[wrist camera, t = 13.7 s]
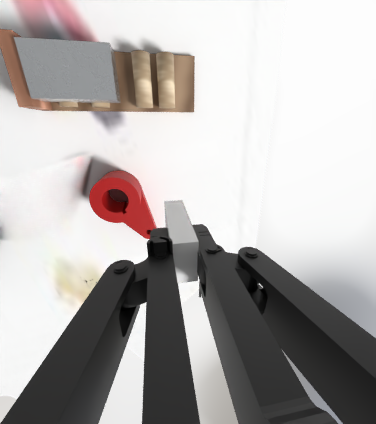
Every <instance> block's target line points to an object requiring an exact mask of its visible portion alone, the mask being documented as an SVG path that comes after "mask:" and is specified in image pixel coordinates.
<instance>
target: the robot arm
mask: <svg viewBox="0 0 376 424" xmlns="http://www.w3.org/2000/svg"><path fill="white" fill-rule="evenodd" d="M164 202H165V221H166V228H155V229H153V230H152V231H151V232H150V240H148V242H147V249H148V258H147V259H146V260H145V261H143V262H141V263H138V264H135V265H134V263H133V262H131V261H128V260H120V261H117V262H114V263H113V264H111V265H110V266H109V267H108V268H107V269H106V271H105V272H104V274H103V275H102V277H101V278H100V280H99V281H98V283H97V284H96V285H95V287H94V288H93V290H92V291H91V293H90V294H89V296H88V297H87V299H86V300H85V301H84V303H83V304H82V306H81V307H80V309H79V310H78V312H77V313H76V315H75V316H74V317H73V319H72V320H71V322H70V323H69V325H68V326H67V328H66V329H65V331H64V332H63V333H62V335H61V336H60V338H59V339H58V341H57V342H56V344H55V345H54V346H53V348H52V349H51V351H50V352H49V354H48V355H47V357H46V358H45V360H44V361H43V362H42V364H41V365H40V367H39V368H38V370H37V371H36V373H35V374H34V376H33V377H32V378H31V380H30V381H29V383H28V384H27V386H26V387H25V389H24V390H23V392H22V393H21V394H20V396H19V397H18V399H17V400H16V402H15V403H14V405H13V406H12V408H11V409H10V410H9V412H8V413H7V415H6V416H5V418H4V419H3V421H2V422H1V423H0V424H98V423H99V420H100V417H101V415H102V412H103V409H104V406H105V403H106V401H107V398H108V395H109V392H110V389H111V386H112V384H113V381H114V378H115V375H116V372H117V370H118V367H119V364H120V361H121V358H122V356H123V353H124V350H125V347H126V344H127V342H128V339H129V336H130V333H131V330H132V328H133V325H134V322H135V319H136V316H137V314H138V311H139V308H140V304H143V303H145V302H147V305H146V332H145V359H144V387H143V413H142V424H200V420H199V415H198V408H197V401H196V395H195V390H194V383H193V376H192V370H191V364H190V357H189V351H188V345H187V339H186V333H185V326H184V320H183V314H182V308H181V301H180V295H179V289H178V283H183V282H191V281H198V276H199V279H200V283H199V297H201V294H202V298H203V301H204V305H205V308H206V311H207V315H208V318H209V322H210V326H211V328H212V333H213V336H214V339H215V343H216V347H217V350H218V354H219V357H220V360H221V364H222V367H223V371H224V374H225V378H226V381H227V385H228V388H229V392H230V395H231V399H232V402H233V406H234V409H235V412H236V416H237V420H238V423H239V424H338V423H337V422H336V420H335V419H334V418H332V416H331V415H330V414H329V413H328V412H326V411H324V410H322V409H320V408H318V407H316V406H315V405H314V403H313V402H312V401H311V400H310V398H309V397H308V395H307V393H306V392H305V390H304V388H303V386H302V384H301V383H300V381H299V379H298V377H297V376H296V374H295V372H294V370H293V369H292V367H291V366H290V364H289V362H288V360H287V358H286V357H285V355H284V353H283V352H282V350H283V351H284V352H285V354H286V355H287V356H288V357H289V359H290V360H291V361H292V362H293V363H294V365H295V366H296V367H297V368H298V370H299V371H300V372H301V373H302V374H303V376H304V377H305V378H306V379H307V380H308V382H309V383H310V384H311V385H312V386H313V388H314V389H315V390H316V391H317V393H318V394H319V395H320V396H321V397H322V399H323V400H324V401H325V402H326V403H327V405H328V406H329V407H330V408H331V409H332V411H333V412H334V413H335V414H336V415H337V417H338V418H339V419H340V420H341V422H343V424H376V338H374V337H373V336H372V335H371V334H369V333H368V332H366V331H365V330H364V329H363V328H361V327H360V326H359V325H357V324H356V323H355V322H353V321H352V320H351V319H349V318H348V317H347V316H345V315H344V314H343V313H342V312H340V311H339V310H338V309H336V308H335V307H334V306H332V305H331V304H330V303H328V302H327V301H326V300H324V299H323V298H322V297H320V296H319V295H317V294H316V293H315V292H314V291H312V290H311V289H310V288H309V287H307V286H306V285H304V284H303V283H302V282H301V281H299V280H298V279H297V278H295V277H294V276H293V275H291V274H290V273H289V272H287V271H286V270H285V269H284V268H282V267H281V266H279V265H278V264H277V263H276V262H274V261H273V260H271V259H270V258H269V257H268V256H266V255H265V254H264V253H262V252H261V251H259V250H258V249H255V248H252V247H243V248H241V249H240V250H239V252H238V254H234V253H227V252H225V251H224V249H223V248H222V247H221V246H219V245H217V244H216V243H215V242H214V240H213V238H212V236H211V234H210V232H209V230H208V229H207V227H206V226H204V225H203V224H200V225H192V224H191V221H190V219H189V216H188V214H187V211H186V209H185V206H184V204H183V201H182V200H180V201H164ZM259 283H260V284H261V285H262V286H263V288H262V287H261V286H260V285H259ZM281 349H282V350H281Z"/></svg>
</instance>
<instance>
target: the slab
mask: <svg viewBox="0 0 376 424" xmlns="http://www.w3.org/2000/svg"><path fill="white" fill-rule="evenodd" d="M14 40H15V43H16V47H17V50H18V54H19V57H20V61H21V64H22V68H23V71H24V75H25V78H26V82H27V85H28V89H29V92H30V96H31V98H32V99H36V100H40V101H44V102H81V103H121V100H120V92H119V84H118V76H117V68H116V60H115V53H114V51H113V49H112V47H111V45H110V43H105V42H88V41H72V40H56V39H40V38H23V37H14Z"/></svg>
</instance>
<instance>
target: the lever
mask: <svg viewBox="0 0 376 424" xmlns="http://www.w3.org/2000/svg"><path fill="white" fill-rule="evenodd" d="M110 189H118V190H121V191H123V192H124V193H125V194H126V195H127V197H128V203H127V202H126V201H124V202H119V201H116V200H114V199H113V198H112V197H111V196H110V194H109V190H110ZM89 201H90V205H91V207H92V209H93V211H94V212H95V213H96V214H97V215H98V216H99V217H100V218H102V219H104V220H106V221H108V222H113V223H121V222H124V223H125V224H126V225H128V226H129V227H130V228H132V229H133V230H135V231H136V232H137V233H139V234H140V235H141V236H143V237H144V238H146V239H150V232H151V231H152V230H153V229H155V228H156V225H155V222H154V219H153V217H152V214H151V212H150V209H149V206H148V204H147V201H146V198H145V196H144V193H143V190H142V188H141V185H140V183H139V181H138V180H137V179H136V178H135V177H134V176H133V175H132V174H130V173H128V172H125V171H112V172H109V173H107V174H106V175H104V176H103V177H102V178H101V179H100V180H99V181H98V182H97V183H96V184H95V185H94V186H93V188H92V189H91V192H90V196H89ZM148 230H150V231H148Z"/></svg>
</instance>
